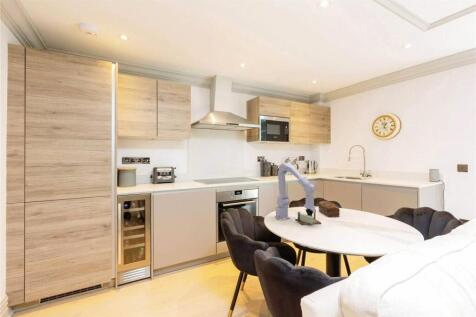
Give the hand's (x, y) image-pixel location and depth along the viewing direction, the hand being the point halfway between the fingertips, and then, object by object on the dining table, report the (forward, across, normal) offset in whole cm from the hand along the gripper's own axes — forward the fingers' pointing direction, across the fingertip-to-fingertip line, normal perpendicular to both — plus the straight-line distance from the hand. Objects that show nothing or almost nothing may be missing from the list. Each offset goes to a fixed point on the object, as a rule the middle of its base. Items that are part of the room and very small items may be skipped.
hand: (309, 219), depth 166 cm
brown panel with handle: (+3, +4, -1) cm, 5 cm away
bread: (+4, +21, -28) cm, 35 cm away
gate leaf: (+2, 0, +3) cm, 3 cm away
